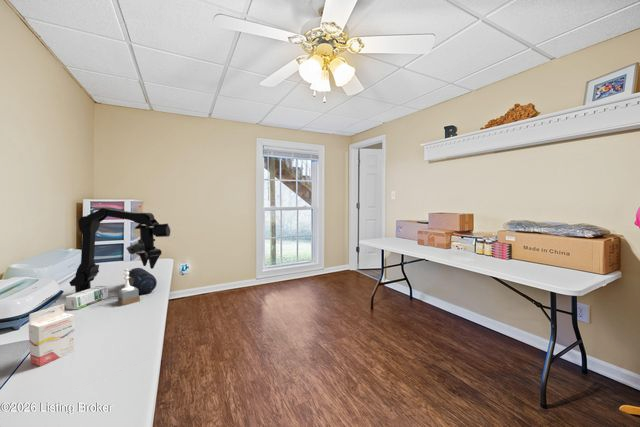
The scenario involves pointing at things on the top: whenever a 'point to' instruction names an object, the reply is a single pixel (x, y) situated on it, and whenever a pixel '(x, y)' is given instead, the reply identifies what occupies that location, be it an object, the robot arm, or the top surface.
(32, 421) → the top surface
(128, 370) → the top surface
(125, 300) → the walnut base block
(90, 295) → the syrup box
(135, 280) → the portable speaker
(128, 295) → the slate top block
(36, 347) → the ink cartridge box
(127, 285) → the chess piece
